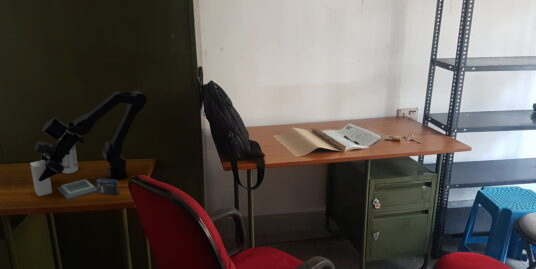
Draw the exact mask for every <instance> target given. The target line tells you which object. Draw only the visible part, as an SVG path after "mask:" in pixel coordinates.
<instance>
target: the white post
mask: <svg viewBox="0 0 536 269" xmlns="http://www.w3.org/2000/svg"><path fill="white" fill-rule="evenodd" d="M45 163H46V161H45V160H41V159H40V160H39V161H38V160H37V161H33V162H30V164H29V165H30V169H31V175H32V181H33V186H34V187H33V188H34V192H35V194H36V195H37V196H38V197H40V196H44V195H45V196H46V195H49V194H52V193H53V189H52V182H51V177H49V178H47V179H45V180H43V181H41V182H40V181H38V179H39V178H40V176H41V174H42V173H43V171H44V170H45Z"/></svg>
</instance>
